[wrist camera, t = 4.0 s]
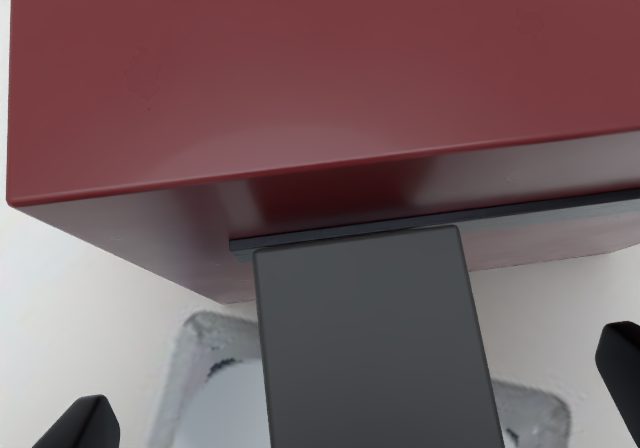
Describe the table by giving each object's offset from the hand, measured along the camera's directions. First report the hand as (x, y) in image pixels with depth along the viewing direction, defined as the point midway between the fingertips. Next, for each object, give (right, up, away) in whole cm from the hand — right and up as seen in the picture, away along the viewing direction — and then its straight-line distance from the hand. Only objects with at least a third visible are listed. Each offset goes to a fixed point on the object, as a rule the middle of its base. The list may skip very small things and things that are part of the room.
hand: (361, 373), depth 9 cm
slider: (0, 0, +2) cm, 2 cm away
